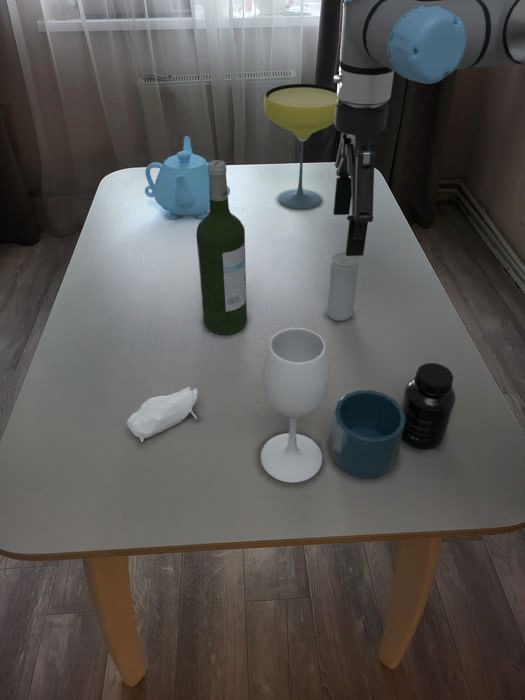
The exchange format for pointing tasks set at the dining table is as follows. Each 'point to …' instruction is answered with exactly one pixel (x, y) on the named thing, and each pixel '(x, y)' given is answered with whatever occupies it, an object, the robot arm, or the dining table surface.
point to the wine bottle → (222, 259)
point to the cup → (366, 433)
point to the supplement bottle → (428, 406)
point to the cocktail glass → (301, 125)
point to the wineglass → (294, 400)
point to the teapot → (181, 184)
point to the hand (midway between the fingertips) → (347, 233)
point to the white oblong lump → (162, 413)
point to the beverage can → (342, 286)
